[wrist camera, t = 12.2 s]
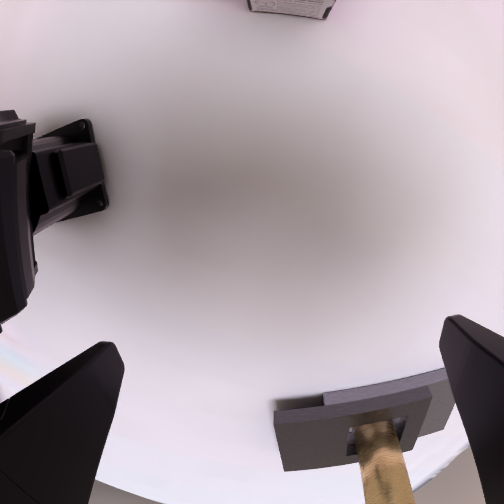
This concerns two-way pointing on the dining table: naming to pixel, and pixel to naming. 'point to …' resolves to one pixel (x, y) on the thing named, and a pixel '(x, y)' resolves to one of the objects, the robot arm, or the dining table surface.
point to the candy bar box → (293, 7)
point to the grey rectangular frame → (362, 419)
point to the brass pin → (382, 464)
